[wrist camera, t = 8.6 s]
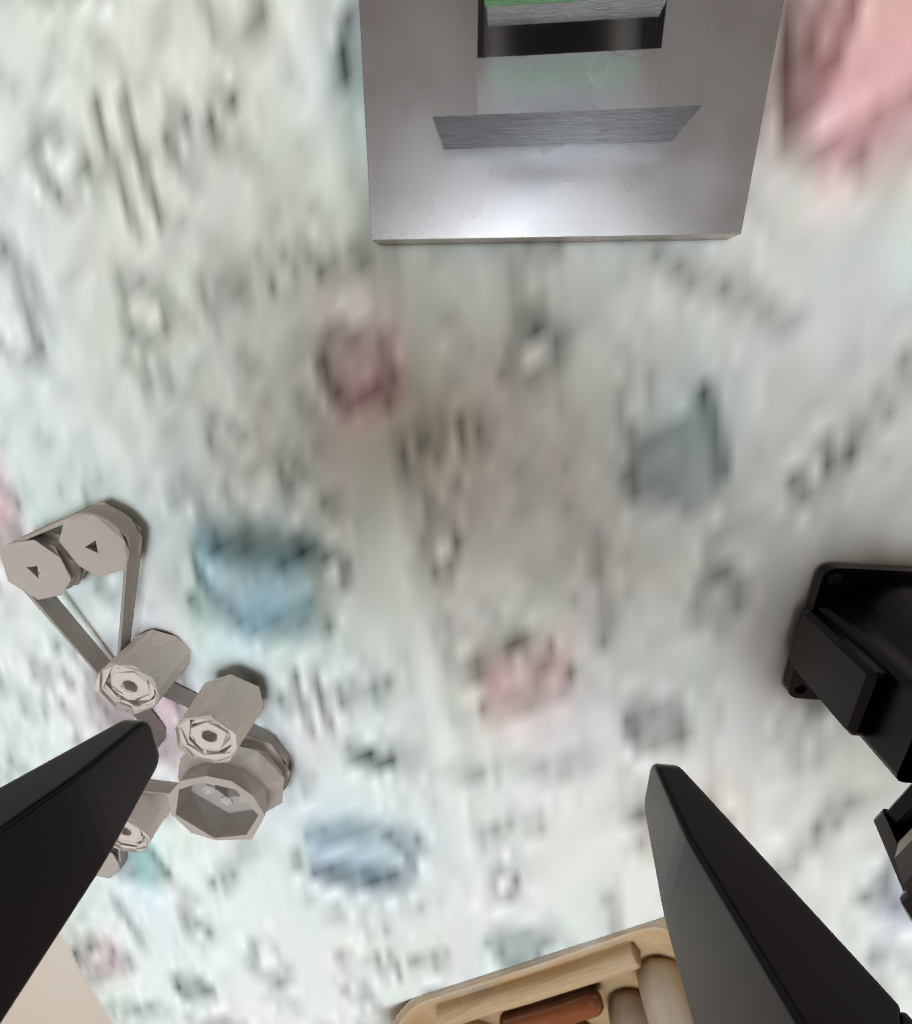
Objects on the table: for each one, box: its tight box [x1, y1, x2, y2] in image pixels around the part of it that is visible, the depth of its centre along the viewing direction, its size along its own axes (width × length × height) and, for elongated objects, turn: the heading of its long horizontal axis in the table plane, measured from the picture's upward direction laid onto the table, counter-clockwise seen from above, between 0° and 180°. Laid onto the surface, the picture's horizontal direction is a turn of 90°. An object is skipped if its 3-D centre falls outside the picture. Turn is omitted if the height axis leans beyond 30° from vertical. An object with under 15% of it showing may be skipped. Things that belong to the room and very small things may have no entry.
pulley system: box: [2, 502, 290, 878], centre depth 26 cm, size 27×5×15 cm
